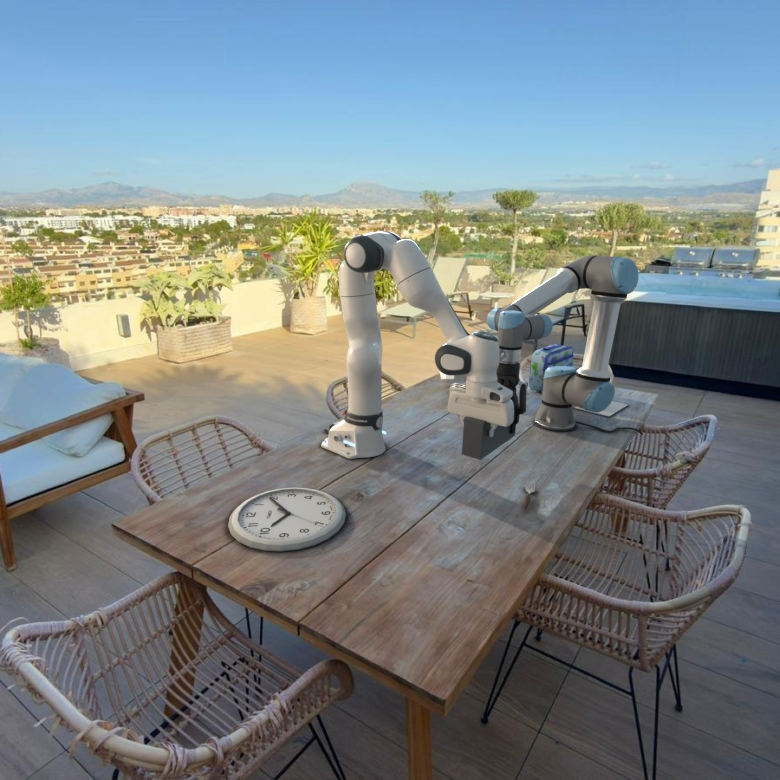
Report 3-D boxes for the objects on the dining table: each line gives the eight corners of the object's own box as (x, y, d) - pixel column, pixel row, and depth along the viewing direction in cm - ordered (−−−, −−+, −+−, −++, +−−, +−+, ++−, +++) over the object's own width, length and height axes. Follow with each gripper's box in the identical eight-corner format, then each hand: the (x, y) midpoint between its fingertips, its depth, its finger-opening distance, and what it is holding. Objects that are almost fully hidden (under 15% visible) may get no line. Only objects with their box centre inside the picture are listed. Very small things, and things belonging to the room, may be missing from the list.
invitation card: (608, 416, 214) (573, 407, 224) (608, 416, 214) (573, 408, 224) (628, 404, 229) (594, 396, 238) (628, 405, 229) (594, 397, 238)
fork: (520, 510, 142) (521, 503, 141) (526, 484, 156) (527, 478, 155) (530, 512, 141) (531, 505, 140) (535, 486, 155) (536, 480, 154)
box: (497, 430, 175) (500, 397, 171) (515, 435, 171) (518, 401, 167) (461, 454, 156) (463, 417, 153) (480, 460, 153) (483, 422, 149)
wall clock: (346, 543, 123) (215, 547, 120) (346, 549, 123) (215, 553, 121) (345, 483, 151) (239, 485, 149) (345, 488, 152) (240, 490, 149)
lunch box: (545, 397, 238) (550, 352, 231) (524, 391, 245) (529, 348, 239) (572, 386, 255) (578, 344, 249) (552, 381, 262) (557, 340, 256)
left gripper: (444, 384, 154) (442, 428, 159) (508, 398, 143) (504, 444, 147) (455, 379, 159) (453, 422, 163) (518, 392, 148) (514, 438, 152)
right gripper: (474, 358, 165) (470, 426, 172) (533, 368, 154) (525, 441, 161) (485, 354, 171) (480, 420, 178) (542, 363, 160) (535, 433, 167)
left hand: (478, 433), depth 155 cm, fingers closed on box, 6 cm apart
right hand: (502, 429), depth 170 cm, fingers closed on box, 6 cm apart
